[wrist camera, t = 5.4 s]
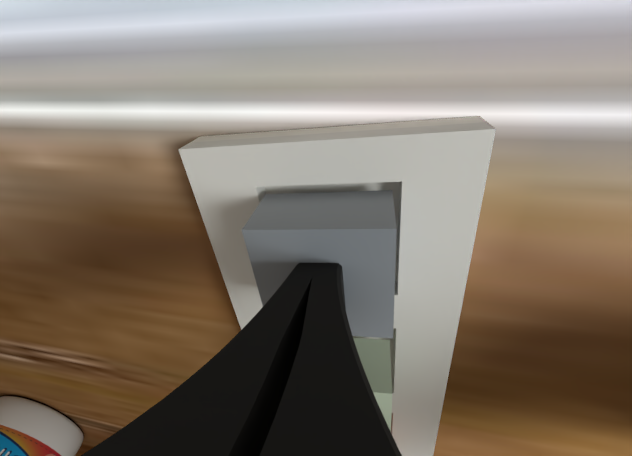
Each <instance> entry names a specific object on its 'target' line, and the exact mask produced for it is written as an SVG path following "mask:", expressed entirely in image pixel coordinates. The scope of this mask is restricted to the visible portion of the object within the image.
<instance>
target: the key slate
mask: <svg viewBox="0 0 632 456" xmlns="http://www.w3.org/2000/svg"><path fill="white" fill-rule="evenodd" d="M396 231H397V228H396V219H395V210H394V201H393V192H392V190H380V191H348V192H316V193H284V194H265V196H264V197H263V199H262V200H261V202H260V203H259V205H258V206H257V208H256V209H255V211H254V212H253V214H252V215H251V217H250V218H249V220H248V221H247V223H246V224H245V226H244V227H243V229H242V233H243V237H244V241H245V244H246V248H247V251H248V255H249V259H250V262H251V266H252V269H253V273H254V276H255V280H256V284H257V287H258V291H259V294H260V298H261V302H262V305H263V306H264V305H265V304H266V302H267V301H268V300H269V299H270V298H271V297H272V295H273V294H274V293H275V292H276V291H277V289H278V288H279V287H280V286H281V284H282V283H283V282H284V281H285V279H286V278H287V277H288V276H289V274H290V273H291V272H292V270H293V269H294V268H295V266H296V265H297V264H298V263H339V264H340V265H341V266H342V271H343V283H344V295H345V307H346V314H347V318H348V322H349V325H350V329H351V332H352V336H360V337H377V338H393V325H394V294H395V263H396Z"/></svg>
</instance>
